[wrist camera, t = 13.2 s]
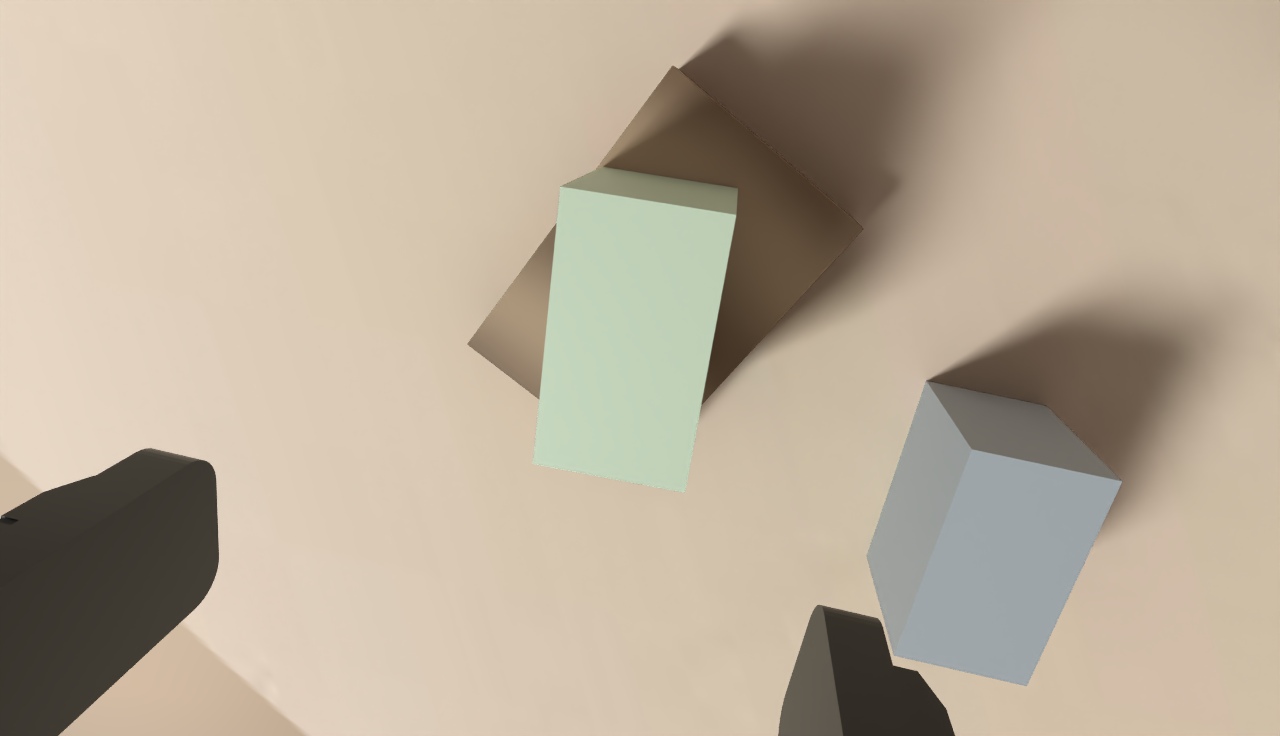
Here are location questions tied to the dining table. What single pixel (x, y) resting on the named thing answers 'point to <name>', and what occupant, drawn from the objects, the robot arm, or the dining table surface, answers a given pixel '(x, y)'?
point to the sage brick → (631, 324)
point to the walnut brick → (760, 248)
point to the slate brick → (985, 531)
